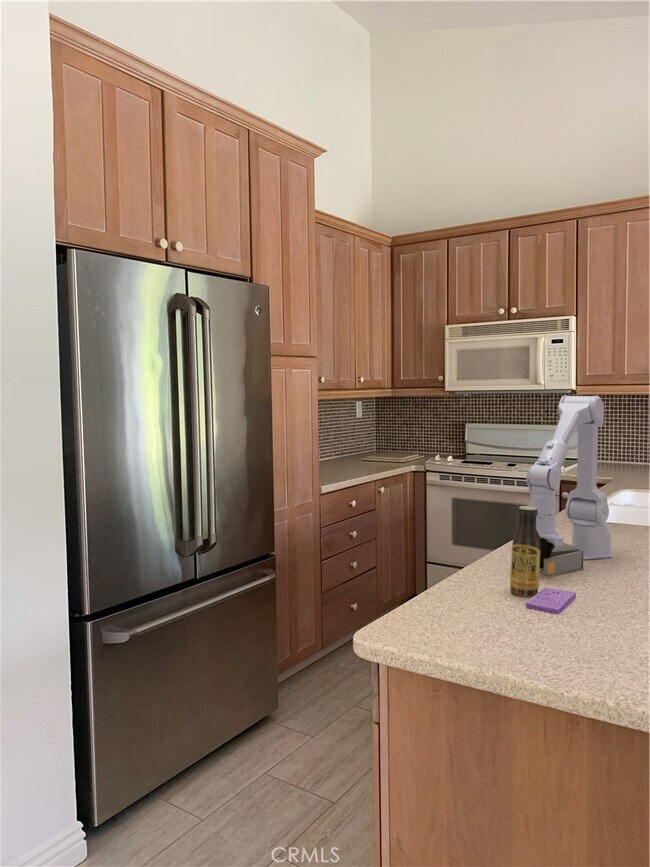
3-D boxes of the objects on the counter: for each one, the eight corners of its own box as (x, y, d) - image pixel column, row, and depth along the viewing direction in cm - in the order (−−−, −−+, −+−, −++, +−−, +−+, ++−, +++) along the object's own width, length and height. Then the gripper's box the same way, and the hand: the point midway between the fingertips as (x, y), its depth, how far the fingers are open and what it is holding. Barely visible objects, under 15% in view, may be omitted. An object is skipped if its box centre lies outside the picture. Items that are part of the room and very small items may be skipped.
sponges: (576, 600, 146) (576, 591, 146) (558, 617, 136) (558, 608, 136) (544, 594, 150) (544, 586, 150) (524, 610, 140) (525, 602, 140)
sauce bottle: (507, 595, 148) (507, 508, 146) (513, 587, 153) (513, 503, 152) (537, 599, 145) (538, 511, 143) (542, 591, 150) (543, 505, 149)
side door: (580, 567, 167) (581, 550, 167) (585, 568, 166) (585, 551, 165) (543, 576, 160) (543, 558, 160) (547, 577, 159) (547, 559, 159)
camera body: (561, 560, 175) (561, 539, 174) (579, 568, 167) (579, 547, 167) (525, 563, 172) (525, 542, 172) (542, 572, 165) (542, 550, 164)
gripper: (513, 508, 167) (512, 560, 168) (544, 520, 153) (544, 577, 154) (538, 506, 169) (537, 558, 170) (571, 518, 154) (570, 574, 156)
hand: (542, 567), depth 162 cm, fingers closed
